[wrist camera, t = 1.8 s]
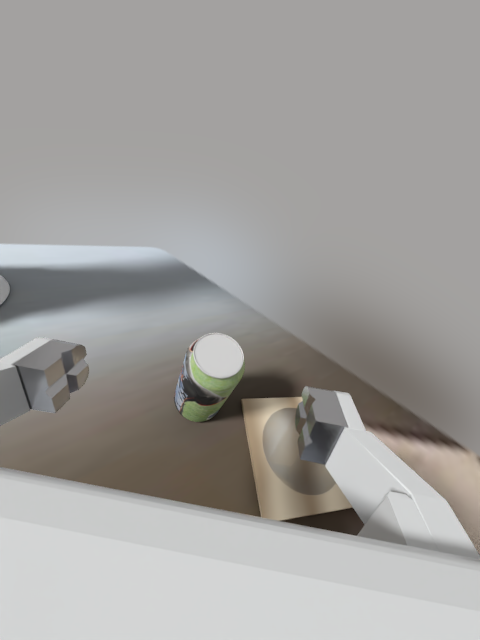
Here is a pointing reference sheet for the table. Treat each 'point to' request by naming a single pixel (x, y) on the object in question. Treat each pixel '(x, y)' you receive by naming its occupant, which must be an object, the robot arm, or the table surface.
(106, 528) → the robot arm
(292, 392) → the table surface
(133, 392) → the table surface
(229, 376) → the beverage can
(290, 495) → the birch mat
